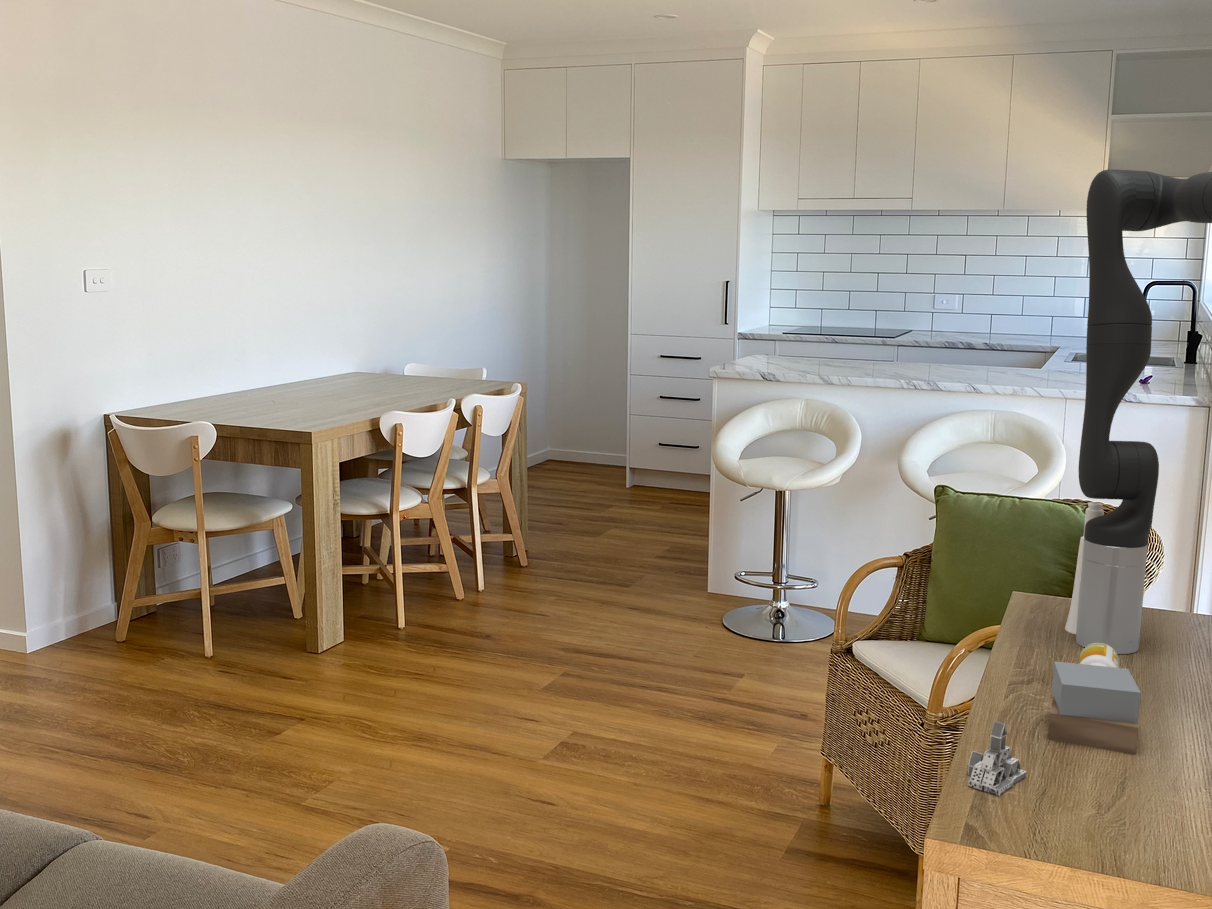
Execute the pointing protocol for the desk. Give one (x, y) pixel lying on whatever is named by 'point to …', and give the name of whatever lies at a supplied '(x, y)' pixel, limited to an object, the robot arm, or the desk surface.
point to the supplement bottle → (1099, 655)
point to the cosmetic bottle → (1090, 513)
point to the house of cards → (995, 765)
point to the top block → (1096, 692)
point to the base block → (1092, 731)
